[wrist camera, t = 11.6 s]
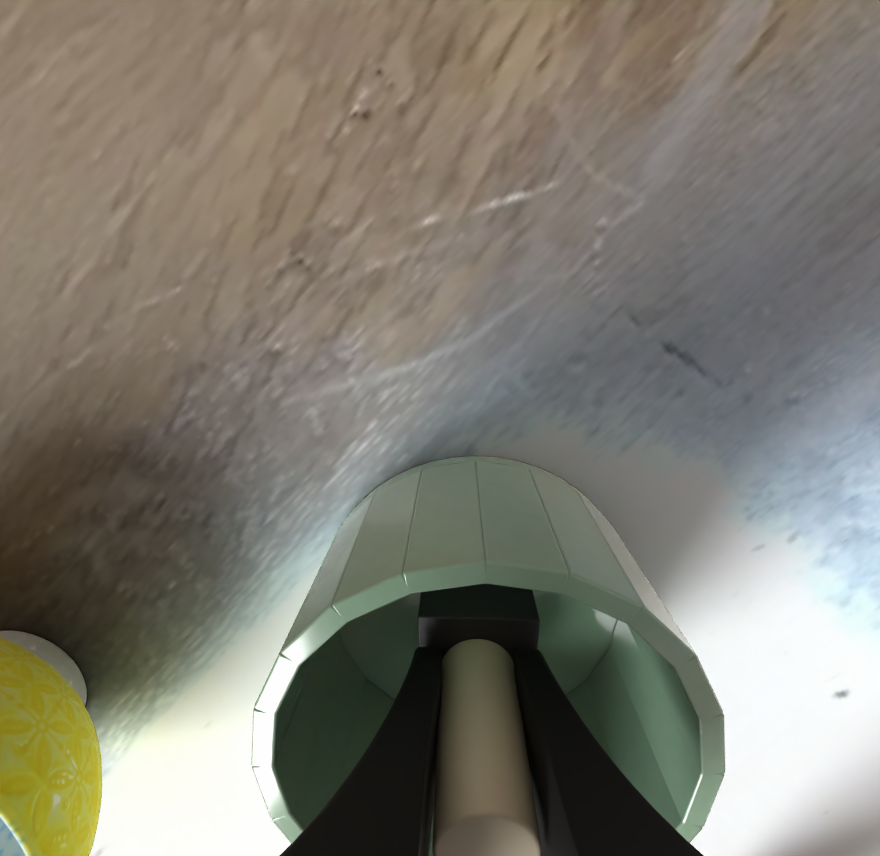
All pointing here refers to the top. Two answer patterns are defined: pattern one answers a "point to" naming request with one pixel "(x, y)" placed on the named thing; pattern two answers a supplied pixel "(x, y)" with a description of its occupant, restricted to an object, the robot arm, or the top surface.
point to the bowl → (45, 752)
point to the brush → (481, 720)
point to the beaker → (499, 563)
